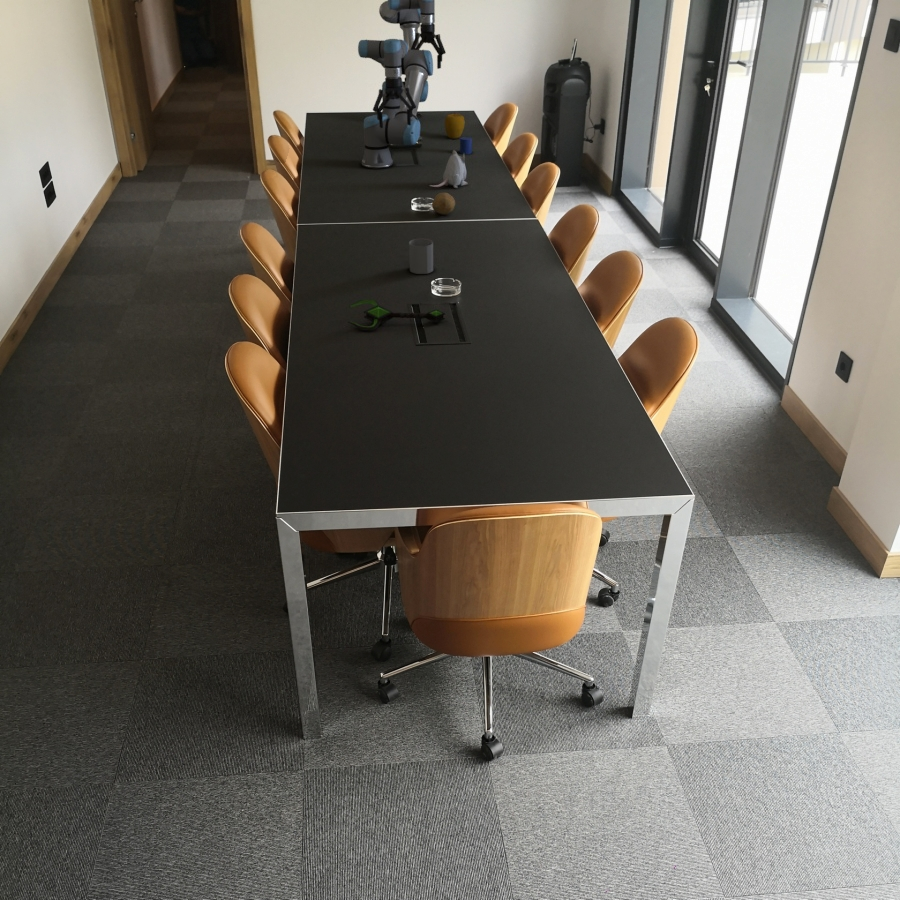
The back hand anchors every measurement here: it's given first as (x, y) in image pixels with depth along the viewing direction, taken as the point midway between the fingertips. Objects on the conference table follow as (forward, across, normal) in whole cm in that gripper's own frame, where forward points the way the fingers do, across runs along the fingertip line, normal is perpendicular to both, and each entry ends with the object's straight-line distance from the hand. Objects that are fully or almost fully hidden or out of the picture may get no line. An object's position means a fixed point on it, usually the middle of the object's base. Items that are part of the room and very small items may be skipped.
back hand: (428, 67), depth 464 cm
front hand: (+13, +27, -78) cm, 83 cm away
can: (+35, +37, -26) cm, 57 cm away
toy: (+35, +60, -88) cm, 112 cm away
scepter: (+35, +118, -224) cm, 255 cm away
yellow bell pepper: (+35, +17, -1) cm, 39 cm away
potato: (+35, +77, -121) cm, 147 cm away
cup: (+35, +101, -181) cm, 211 cm away
